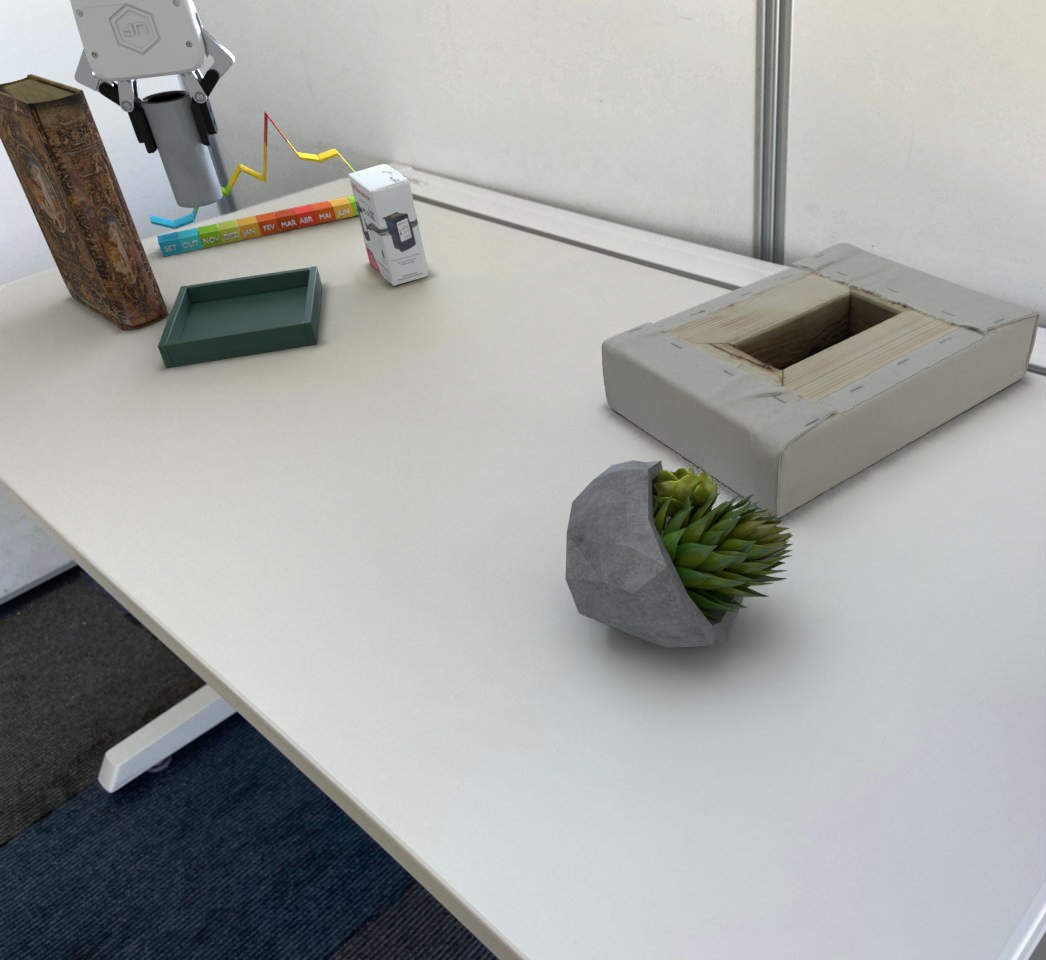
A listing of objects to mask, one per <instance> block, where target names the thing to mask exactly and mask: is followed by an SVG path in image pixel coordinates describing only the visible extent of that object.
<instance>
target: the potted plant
mask: <svg viewBox="0 0 1046 960" xmlns="http://www.w3.org/2000/svg"><path fill="white" fill-rule="evenodd" d="M718 490H719V487H718V482H717V481H714V480H713V476H711V475H710V474H708V473H707V472H705V471H703V472H699V473H698V474H696V471H695V470H694V468H693V467H692V466H690V465H689V466H688V469H687V468H684V467H679V468H677V469H676V470H675V471H670V470H668V469H664V467H663V463H662V460H654V461H639V460H628V461H627V460H626V461H624V462H619V463H616V464H611V465H609V467H608V468H607V469H605V470H604V471H603V472H601V473H600V474H598V475H597V476H596V477H595V478H594V479H592V481H590V482H589V483H588V485H587V486H585V488H584V489H583V490H582V491H581V492H580V493H579V494H578V495H577V496H576V497H575V499H573V501H572V502H571V507H570V512H569V518H568V523H567V529H566V546H565V578H564V579H565V581H566V583H567V586H568V590H569V591H570V595H571V597H572V599H573V602H574V605H575V607H576V610H577V612H578V614H579V615H582V616H583V617H586V618H589V619H591V620H594V621H597V622H599V623H600V624H604V625H607V626H608V627H610V628H613V629H616V630H619V631H621V632H623V633H626V634H628V635H631V636H632V637H636V638H637V639H640V640H643V641H645V642H648V643H651V644H654V645H658V646H661V647H662V648H663V647H664V648H667V649H668V648H670V649H671V648H685V647H707V646H715V645H717V644H720V643H723V642H726V641H728V640H729V637H730V635H731V633H732V630H733V627H734V623H735V621H736V618H737V616H738V613H739V610H740V609H746V608H748V607H747V606H746V605H743V604H742V602H743V601H744V600H743V599H744V598H769V595H767V594H765V593H764V594H763V593H761V592H759V591H757V590H755V589H752V588H750V587H753V586H757V587H759V586H768V585H773V584H774V582H780V581H784V580H787V579H788V578H787V577H776V576H771V575H773V574H777V573H778V574H779V573H783V572H788V570H787V569H775V568H777V567H779V566H781V565H784V564H786V562H785V561H782V560H784V559H787V558H790V557H792V556H793V554H788V553H790V552H792V551H793V549H788V548H789V547H790V546H793V543H789V542H790V540H789V539H791V538H792V537H793V536H794V535H793V533H792V531H790V532H786V533H783V532H784V531H786V530H789V529H790V527H784V526H778V525H780V524H782V522H784V521H785V519H776V518H775V517H776V516H771V515H770V513H773V512H775V511H777V510H774V511H768V512H766V511H767V510H769V509H765V510H762V509H760V508H759V507H757V506H756V505H755V504H757V503H759V502H761V501H758V502H754V503H752V502H750V501H749V499H750V498H751V497H752V496H753V495H754V494H752V495H750V496H747V497H745V498H744V497H742V498H741V499H739V500H738V501H736V500H737V499H738V498H739V497H741V495H740V494H738V495H737V496H734V497H732V498H730V499H728V500H725V501H723V502H721V503H720V504H719V505H717V506H715V507H714V505H715V503H716V502H717V499H718V496H719V495H720V494H721V491H720V492H718ZM748 502H749V503H748ZM754 506H756V507H754ZM713 507H714V508H713ZM759 509H760V510H759ZM767 515H769V516H767ZM785 554H788V555H785Z"/></svg>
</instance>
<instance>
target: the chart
mask: <svg viewBox="0 0 1046 960" xmlns="http://www.w3.org/2000/svg"><path fill="white" fill-rule="evenodd" d="M263 113H264V115H263V121H264V122H263V159H262V160H263V162H262V163H263V164H262V166H263V167H262V173H259V172H258V171H255V170H254V169H251V168H250V167H248V166H246V165H244V164H242V163H237V165H236V167H235V169H234V170H233V173H232V175H231V177H230V178H229V180H228V182H227V184H226V186H225V187H224V186H221V185H220V187H221V190H222V194H223V196H228V197H229V196H230V194H231V192H232V190H233V189H234V186H235V185H236V182H237V181H238V179H239V177H240V175H241V173H242V172H243V173H244V174H246V175H249V176H251V177H252V178H255V179H256V180H259V181H260V182H263V183H264V184H267V180H268V179H267V177H268V176H267V172H268V171H267V170H268V128H269V127H268V124H269V123H268V121H270V122H271V124H272V125H273V126H274V127H275V129H276V130H277V131H278V133H279V135H281V137H282V138H283V139H284V140H285V142H286V144H287V145H288V146H289V147H290V148H291V149H292V151H293V152H294V153H295V154H296V157H298V159H299V160H300V161H308V162H314V163H324V162H326V161H329V160H331V159H333V158H336V157H339V158H340V159H341V160H342V161H343V163H344V164H345V165H346V167H348V168H349V170H350V171H351V173H353V172H356V171H355V170H354V169H353V167H352V166H351V165H350V164H349V163H348V161H346V159H344V157H343V156H342V154H341V153H339V151H338V150H337V149H336V148H331V149H328V150H325V151H323V152H321V153H317V154H315V153H314V154H313V153H307V152H299V151H297V150H296V149H295V148H294V146H293V145H292V143H290V141H289V140H288V139H287V137H286V136H285V135H284V134H283V132H282V131H281V130H280V129H279V127H278V125H277V124H276V123H275V122H274V121H273V119H272V118H271V116H270V115H269V114H268V113H267V111H266V110H265V111H264V112H263ZM199 209H200V207H195V208H192V212H191V213H189V214H186V215H184V216H182V217H179V218H176V219H174V220H173V219H168V218H165V217H161V216H157V215H153V214H152V215H151V214H149V219H150V221H149V222H150V224H152V225H155V226H158V227H159V226H160V227H163V228H168V229H172V230H177V229H180V228H183V227H185V226H188V225H191V224H193V223H195V222H196V217H197V214H198V212H199ZM356 216H358V212H357V207H356V203H355V199H354V195H353V194H352V195H348V196H343V197H339V198H334V199H329V200H324V201H320V202H315V203H309V204H305V205H304V204H303V205H299V206H295V207H290V208H286V209H281V210H275V211H271V212H270V211H269V212H266V213H261V214H257V215H256V214H255V215H251V216H247V217H242V218H237V219H232V220H227V221H221V222H218V223H217V222H216V223H211V224H209V225H202V226H198V227H193V228H189V229H184V230H179V231H174V232H168V233H164V234H159V235H157V236H156V237H157V243H158V246H159V249H160V252H161V254H162V257H169V256H173V255H178V254H183V253H187V252H192V251H198V250H201V249H206V248H210V247H216V246H220V245H224V244H230V243H235V242H239V241H243V240H248V239H254V238H258V237H263V236H267V235H272V234H275V233H276V234H277V233H282V232H286V231H291V230H295V229H300V228H304V227H310V226H315V225H320V224H324V223H329V222H333V221H337V220H342V219H348V218H351V217H356Z"/></svg>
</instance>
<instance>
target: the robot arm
mask: <svg viewBox="0 0 1046 960" xmlns="http://www.w3.org/2000/svg"><path fill="white" fill-rule="evenodd" d="M69 2H70V4H71V9H72V14H73V16H74V20H75V23H76V27H77V30H78V33H79V38H80V41H81V44H82V48H83V49H82V51H81V54H80V57H79V61H78V64H77V66H76V70H75V73H74V80H75V82H77V83H78V84H80V85H82V86H84V87H86V88H89V89H91V90H92V91H95V92H97V93H99V94H101V95H102V96H103V97H105V98H106V99H108V100H109V101H110V102H113V103H114V104H116V105H117V106H119V107H120V108H121V109H120V110H122V111H124V112H125V113H127V115H128V117H129V120H130V123H131V126H132V129H133V132H134V135H135V138H136V140H137V142H138V143H139V144H144V147H145V149H146V153H147V154H155V153H156V152H157V151H158V149H157V146H156V143H155V140H154V138H153V135H152V132H151V129H150V126H149V123H148V121H147V118H146V115H145V112H144V109H143V106H142V103H141V100H142V98H140V91H139V82H138V81H139V80H140V79H149V78H150V79H151V78H159V77H167V76H174V75H175V76H176V75H179V76H180V78H181V80H182V81H183V83H184V84H185V86H186V88H187V90H188V92H189V93H190V94H191V98H192V101H193V103H192V105H191V110H192V113H193V116H194V119H195V122H196V125H197V128H198V131H199V135H200V138H201V141H202V144H203V145H205V146H207V147H212V146H213V143H214V141H215V135H217V134H218V133H219V128H218V124H217V121H216V117H215V114H214V111H213V108H212V105H211V102H210V101H211V100H210V98H209V97H210V95H211V94H212V92H213V90H214V88H216V86H217V84H218V82H219V81H220V79H222V77H223V76H224V75H225V74H227V72H228V70H230V69H231V67H232V66H233V64H234V63H235V60H236V58H235V55H233V54H232V52H231V51H229V49H227V48H226V47H225V46H224V44H222V43H221V42H219V40H217V39H216V38H215V37H214V36H213V35H212V34H211V33H209V32H208V30H206V29H205V28H204V27H203V23H202V21H201V18H200V15H199V12H198V10H197V8H196V5H195V2H194V0H69ZM209 56H211V57H212V58H213V63H212V64H211V66H209V68H207V70H206V72H205V74H204V75H203V74H202V72H201V71H200V68H202V67H203V66H204V64H205V62H206V60H207V59H208V57H209ZM116 82H117V83H116Z"/></svg>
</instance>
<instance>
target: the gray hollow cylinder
mask: <svg viewBox="0 0 1046 960" xmlns="http://www.w3.org/2000/svg"><path fill="white" fill-rule="evenodd" d="M191 97H192V95H191V93H190V91H189V90H188V91H187V90H183V89H182V90H179V89H178V90H177V89H176V90H166V91H161V92H156V93H152V94H149V95H146V96H145V97H143V98H141V103H142V106H143V109H144V112H145V115H146V118H147V121H148V123H149V126H150V129H151V132H152V135H153V138H154V140H155V143H156V146H157V151H158V155H159V157H160V160H161V163H162V165H163V169H164V171H165V175H166V177H167V180H168V183H169V186H170V188H171V191H172V195H173V197H174V200H175V202H176V204H177V206H178V207H180V208H186V209H194V208H195V207H199V208H201V207H206V206H209V205H213V204H215V203H217V202H219V201H220V200H222V199H223V196H224V195H223V194H222V190H221V187H222V186H221V184H220V181H219V178H218V175H217V171H216V168H215V166H214V163H213V160H212V159H213V158H212V156H211V153H210V149H209V146H205V145H203V144H202V141H201V138H200V135H199V131H198V128H197V125H196V122H195V119H194V116H193V113H192V110H191V105H192V103H193V101H192V98H191ZM220 186H221V187H220Z"/></svg>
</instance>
